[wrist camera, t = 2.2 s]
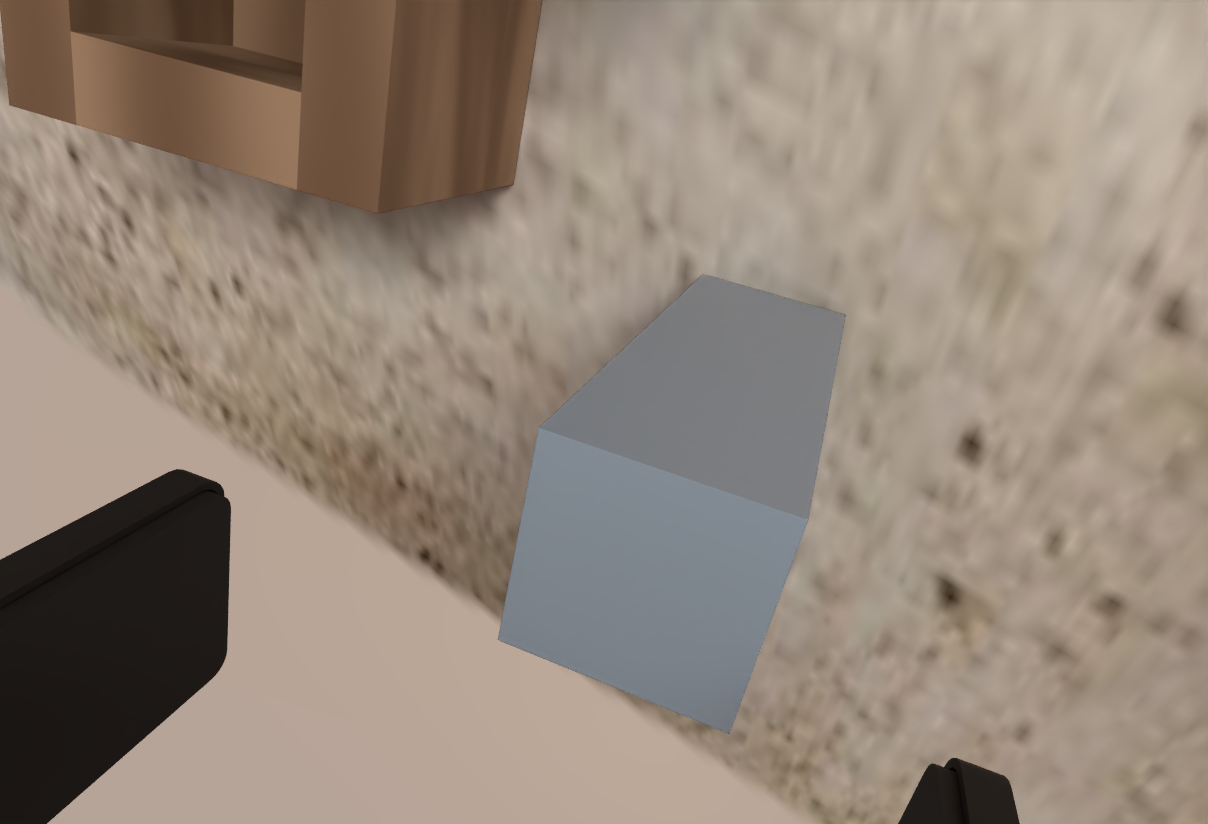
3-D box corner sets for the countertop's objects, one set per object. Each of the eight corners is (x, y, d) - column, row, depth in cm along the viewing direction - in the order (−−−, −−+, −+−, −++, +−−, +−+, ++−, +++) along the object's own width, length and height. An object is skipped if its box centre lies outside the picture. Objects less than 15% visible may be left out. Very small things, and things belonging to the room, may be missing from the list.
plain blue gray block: (845, 314, 22) (808, 519, 11) (800, 445, 23) (729, 734, 13) (703, 274, 22) (538, 427, 12) (669, 402, 24) (497, 640, 13)
